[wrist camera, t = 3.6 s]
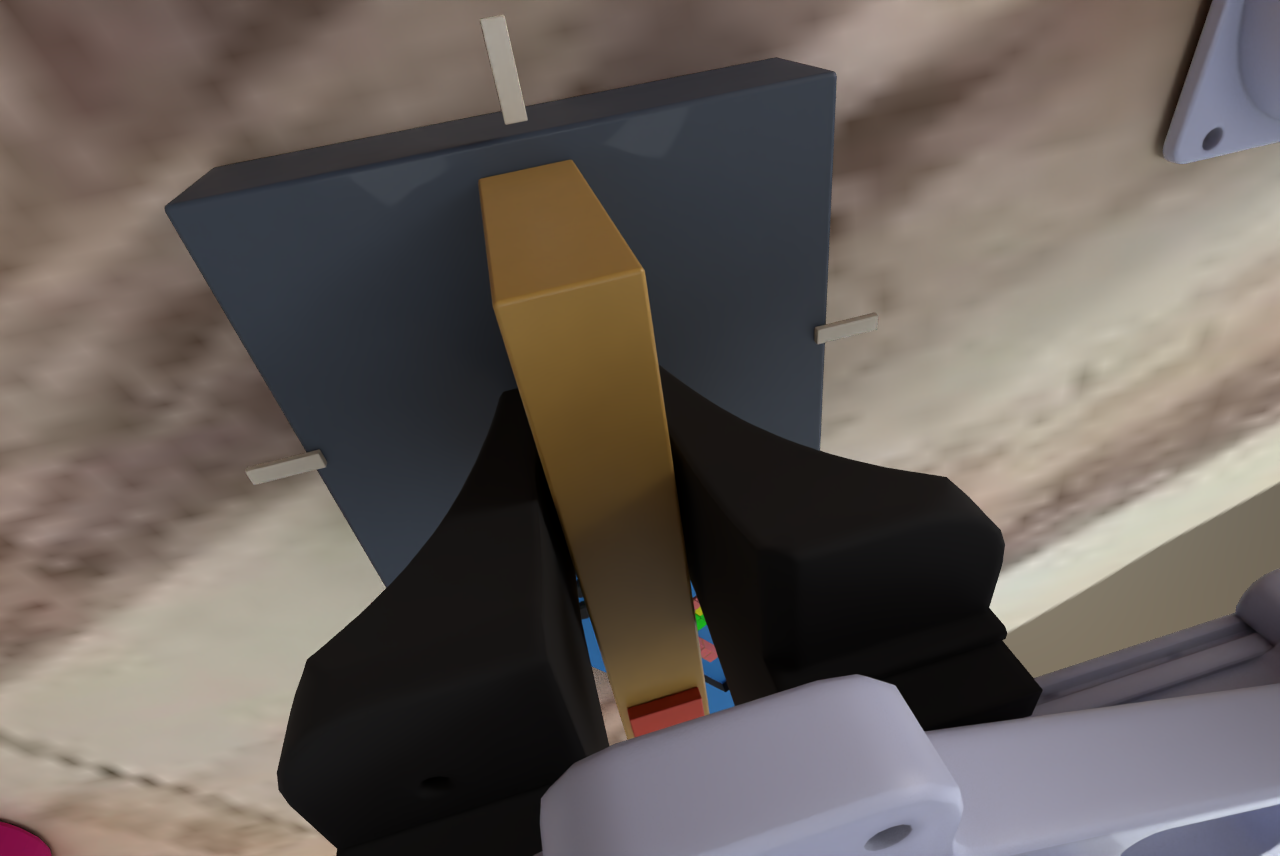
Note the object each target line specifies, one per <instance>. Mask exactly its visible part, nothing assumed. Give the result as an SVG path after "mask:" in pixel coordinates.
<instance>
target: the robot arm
mask: <svg viewBox="0 0 1280 856" xmlns="http://www.w3.org/2000/svg"><path fill="white" fill-rule="evenodd" d="M1277 142H1280V0H1212V3H1211V6H1210V9H1209V12H1208V15H1207V18H1206V21H1205V24H1204V27H1203V30H1202V33H1201V36H1200V39H1199V42H1198V45H1197V48H1196V51H1195V54H1194V56H1193V59H1192V62H1191V65H1190V68H1189V71H1188V74H1187V77H1186V80H1185V83H1184V86H1183V89H1182V92H1181V95H1180V98H1179V101H1178V104H1177V107H1176V109H1175V112H1174V115H1173V118H1172V121H1171V124H1170V127H1169V130H1168V133H1167V136H1166V139H1165V142H1164V146H1163V155H1164V158H1165V159H1166V160H1167V161H1170V162H1174V163H1178V164H1187V163H1191V162H1195V161H1200V160H1204V159H1208V158H1213V157H1217V156H1221V155H1225V154H1230V153H1234V152H1238V151H1243V150H1247V149H1251V148H1256V147H1260V146H1264V145H1268V144H1273V143H1277ZM659 371H660V378H661V385H662V391H663V398H664V405H665V412H666V419H667V426H668V432H669V439H670V446H671V453H672V460H673V466H674V473H675V480H676V487H677V494H678V500H679V507H680V514H681V521H682V528H683V535H684V541H685V548H686V555H687V562H688V569H689V575H690V581H691V583H692V585H693V588H694V590H695V593H696V596H697V599H698V601H699V604H700V607H701V610H702V613H703V615H704V618H705V621H706V624H707V627H708V629H709V632H710V635H711V638H712V641H713V644H714V647H715V650H716V652H717V655H718V658H719V661H720V664H721V667H722V670H723V673H724V676H725V678H726V681H727V684H728V687H729V690H730V693H731V696H732V699H733V702H734V705H735V706H734V707H731V708H728V709H724V710H721V711H718V712H715V713H712V714H709V715H705V716H702V717H699V718H696V719H693V720H689V721H686V722H683V723H680V724H677V725H673V726H670V727H667V728H664V729H661V730H658V731H654V732H651V733H648V734H645V735H642V736H638V737H635V738H632V739H629V740H626V741H622V742H619V743H616V744H614V745H611V746H609V743H608V738H607V734H606V729H605V725H604V721H603V716H602V712H601V707H600V703H599V698H598V694H597V689H596V684H595V680H594V675H593V671H592V666H591V662H590V657H589V652H588V648H587V643H586V639H585V634H584V629H583V625H582V619H581V612H580V606H579V599H578V590H577V581H576V572H575V569H574V566H573V563H572V560H571V556H570V553H569V550H568V547H567V544H566V540H565V537H564V534H563V531H562V528H561V524H560V521H559V518H558V515H557V511H556V508H555V505H554V502H553V499H552V495H551V492H550V489H549V486H548V483H547V479H546V476H545V473H544V470H543V467H542V463H541V460H540V457H539V454H538V450H537V447H536V444H535V441H534V438H533V434H532V431H531V428H530V425H529V422H528V418H527V415H526V412H525V409H524V406H523V402H522V399H521V396H520V393H519V390H518V388H516V389H512V390H508V391H504V392H503V393H502V395H501V396H500V398H499V401H498V405H497V408H496V411H495V414H494V417H493V420H492V423H491V426H490V428H489V431H488V434H487V436H486V439H485V441H484V443H483V446H482V448H481V450H480V453H479V455H478V457H477V460H476V462H475V464H474V466H473V468H472V470H471V472H470V473H469V475H468V477H467V479H466V481H465V483H464V485H463V487H462V489H461V491H460V492H459V494H458V496H457V498H456V499H455V501H454V503H453V504H452V506H451V508H450V509H449V511H448V512H447V514H446V515H445V517H444V518H443V520H442V521H441V523H440V524H439V526H438V527H437V529H436V530H435V532H434V533H433V534H432V536H431V537H430V538H429V539H428V541H427V542H426V543H425V544H424V546H423V547H422V548H421V549H420V551H419V552H418V553H417V554H416V556H415V557H414V558H413V559H412V560H411V562H410V563H409V564H408V565H407V567H406V568H405V569H404V570H403V571H402V572H401V573H400V574H399V575H398V576H397V577H396V579H395V580H394V581H393V582H392V583H391V584H390V585H389V586H388V587H387V588H386V589H385V590H384V591H383V592H382V593H381V594H380V595H379V596H378V597H377V598H376V599H375V600H374V601H373V602H372V603H371V604H370V605H369V606H368V607H367V608H366V609H365V610H364V611H363V612H362V613H361V614H360V615H359V616H357V617H356V618H355V619H354V620H353V621H352V622H351V623H349V624H348V625H347V626H346V627H345V628H344V629H343V630H341V631H340V632H339V633H338V634H337V635H336V636H334V637H333V638H332V639H331V640H330V641H329V642H328V643H326V644H325V645H324V646H323V647H322V648H321V649H320V650H318V651H317V652H316V653H315V654H313V655H312V656H311V657H310V658H308V659H307V661H306V664H305V668H304V671H303V674H302V677H301V679H300V682H299V685H298V688H297V690H296V694H295V697H294V701H293V704H292V708H291V712H290V716H289V721H288V725H287V730H286V734H285V739H284V743H283V748H282V752H281V757H280V761H279V766H278V770H277V778H278V788H279V791H280V792H281V794H282V795H283V797H284V798H285V799H286V801H287V802H288V804H289V805H290V806H291V807H292V808H293V809H294V810H296V811H297V812H298V813H299V814H300V815H301V816H302V817H303V818H304V819H305V820H306V821H308V822H309V823H310V824H311V825H312V826H313V827H314V828H315V829H316V830H317V831H318V832H320V833H321V834H322V835H323V836H324V837H325V838H326V839H327V840H328V841H329V842H330V843H332V844H333V845H334V846H335V847H336V848H337V855H336V856H1280V568H1279V569H1276V570H1273V571H1271V572H1269V573H1267V574H1265V575H1263V576H1262V577H1260V578H1259V579H1258V580H1256V581H1255V582H1253V583H1252V585H1251V586H1250V587H1249V588H1248V589H1247V590H1246V591H1245V593H1244V594H1243V595H1242V597H1241V599H1240V600H1239V602H1238V604H1237V606H1236V612H1235V613H1232V614H1229V615H1226V616H1223V617H1220V618H1217V619H1214V620H1211V621H1208V622H1205V623H1202V624H1199V625H1196V626H1193V627H1190V628H1186V629H1183V630H1180V631H1177V632H1174V633H1171V634H1168V635H1165V636H1162V637H1159V638H1156V639H1153V640H1150V641H1146V642H1143V643H1140V644H1137V645H1134V646H1131V647H1128V648H1125V649H1122V650H1119V651H1116V652H1113V653H1110V654H1107V655H1103V656H1100V657H1097V658H1094V659H1091V660H1088V661H1085V662H1082V663H1079V664H1076V665H1073V666H1070V667H1067V668H1064V669H1060V670H1058V671H1054V672H1051V673H1048V674H1045V675H1042V676H1039V677H1036V678H1033V677H1032V676H1031V675H1030V674H1029V672H1028V671H1027V670H1026V669H1025V667H1024V666H1023V665H1022V664H1021V663H1020V661H1019V660H1018V659H1017V658H1016V657H1015V655H1014V654H1013V653H1012V652H1011V651H1010V649H1009V648H1008V647H1007V646H1006V645H1005V643H1004V642H1003V641H1002V640H1003V639H1005V638H1006V636H1007V631H1006V628H1005V626H1004V625H1003V624H1002V622H1001V621H1000V620H999V619H998V618H997V617H996V615H995V614H994V613H993V612H992V611H991V609H990V608H989V606H990V603H991V599H992V596H993V593H994V590H995V586H996V583H997V580H998V577H999V573H1000V570H1001V567H1002V562H1003V555H1004V548H1005V543H1004V540H1003V536H1002V533H1001V530H1000V529H999V528H998V527H997V526H996V525H995V524H994V523H993V522H992V521H991V520H990V519H989V518H988V517H987V516H986V515H985V513H984V512H983V511H982V510H981V509H980V508H979V507H978V506H977V505H976V504H975V503H974V502H973V501H972V500H971V499H970V497H968V496H967V495H966V494H965V493H964V492H963V491H962V490H961V489H959V488H958V487H957V486H956V485H955V484H954V483H953V482H951V481H950V480H949V479H948V478H947V477H942V476H936V475H929V474H923V473H917V472H910V471H904V470H898V469H891V468H886V467H881V466H876V465H872V464H868V463H863V462H859V461H855V460H851V459H847V458H843V457H839V456H836V455H832V454H829V453H825V452H822V451H819V450H816V449H813V448H810V447H807V446H804V445H801V444H798V443H795V442H793V441H790V440H787V439H785V438H782V437H780V436H777V435H775V434H773V433H771V432H768V431H766V430H764V429H761V428H759V427H757V426H755V425H753V424H750V423H748V422H746V421H744V420H742V419H740V418H739V417H737V416H735V415H733V414H731V413H730V412H728V411H726V410H724V409H722V408H721V407H719V406H718V405H716V404H714V403H713V402H711V401H710V400H708V399H707V398H705V397H704V396H702V395H701V394H699V393H698V392H696V391H695V390H693V389H692V388H690V387H689V386H687V385H686V384H685V383H683V382H682V381H680V380H679V379H678V378H676V377H675V376H674V375H672V374H671V373H670V372H668V371H667V370H666V369H664V368H663V367H662V366H661V365H659Z"/></svg>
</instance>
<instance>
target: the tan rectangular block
mask: <svg viewBox="0 0 1280 856" xmlns="http://www.w3.org/2000/svg"><path fill="white" fill-rule="evenodd" d="M478 187H479V195H480V204H481V212H482V220H483V229H484V237H485V246H486V254H487V263H488V271H489V280H490V288H491V297H492V305H493V309H494V313H495V316H496V319H497V322H498V325H499V329H500V332H501V335H502V338H503V341H504V345H505V348H506V351H507V354H508V357H509V361H510V364H511V367H512V370H513V373H514V377H515V380H516V383H517V386H518V390H519V393H520V396H521V399H522V402H523V406H524V409H525V412H526V415H527V418H528V422H529V425H530V428H531V431H532V434H533V438H534V441H535V444H536V447H537V450H538V454H539V457H540V460H541V463H542V467H543V470H544V473H545V476H546V479H547V483H548V486H549V489H550V492H551V495H552V499H553V502H554V505H555V508H556V511H557V515H558V518H559V521H560V524H561V528H562V531H563V534H564V537H565V540H566V544H567V547H568V550H569V553H570V556H571V560H572V563H573V566H574V569H575V572H576V576H577V579H578V582H579V585H580V588H581V592H582V595H583V598H584V601H585V605H586V608H587V611H588V614H589V617H590V621H591V624H592V627H593V630H594V633H595V637H596V640H597V643H598V646H599V649H600V653H601V656H602V659H603V662H604V666H605V669H606V672H607V675H608V678H609V682H610V685H611V688H612V691H613V694H614V698H615V701H616V704H617V707H618V710H619V714H620V717H621V720H622V723H623V726H624V730H625V733H626V736H627V739H628V740H629V739H632V738H635V737H638V736H642V735H645V734H648V733H651V732H654V731H658V730H661V729H664V728H667V727H670V726H673V725H677V724H680V723H683V722H686V721H689V720H693V719H696V718H699V717H702V716H705V715H709V714H710V712H709V705H708V698H707V691H706V684H705V678H704V671H703V664H702V657H701V650H700V644H699V637H698V630H697V623H696V616H695V609H694V603H693V596H692V589H691V582H690V575H689V569H688V562H687V555H686V548H685V541H684V535H683V528H682V521H681V514H680V507H679V500H678V494H677V487H676V480H675V473H674V466H673V460H672V453H671V446H670V439H669V432H668V426H667V419H666V412H665V405H664V398H663V391H662V385H661V378H660V371H659V364H658V357H657V351H656V344H655V337H654V330H653V323H652V316H651V310H650V303H649V296H648V289H647V282H646V276H645V270H644V269H643V267H642V266H641V264H640V263H639V261H638V260H637V258H636V257H635V255H634V254H633V252H632V250H631V249H630V247H629V246H628V244H627V243H626V241H625V240H624V238H623V237H622V235H621V234H620V232H619V231H618V229H617V227H616V226H615V224H614V223H613V221H612V220H611V218H610V217H609V215H608V214H607V212H606V211H605V209H604V208H603V206H602V205H601V203H600V201H599V200H598V198H597V197H596V195H595V194H594V192H593V191H592V189H591V188H590V186H589V185H588V183H587V182H586V180H585V179H584V177H583V175H582V174H581V172H580V171H579V169H578V168H577V166H576V165H575V163H574V162H573V160H566V161H561V162H556V163H552V164H547V165H542V166H538V167H533V168H528V169H524V170H519V171H514V172H510V173H505V174H500V175H495V176H491V177H486V178H481V179H480V180H478Z"/></svg>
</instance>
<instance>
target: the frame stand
mask: <svg viewBox="0 0 1280 856" xmlns="http://www.w3.org/2000/svg"><path fill="white" fill-rule="evenodd" d="M480 24H481V28H482V32H483V37H484V41H485V45H486V49H487V53H488V57H489V61H490V65H491V69H492V73H493V77H494V82H495V86H496V90H497V94H498V98H499V102H500V106H501V110H502V111H501V112H496V113H491V114H485V115H480V116H475V117H470V118H465V119H460V120H455V121H450V122H445V123H440V124H434V125H429V126H424V127H419V128H414V129H409V130H404V131H399V132H394V133H389V134H383V135H378V136H373V137H368V138H363V139H358V140H353V141H348V142H343V143H337V144H332V145H327V146H322V147H317V148H312V149H307V150H302V151H297V152H292V153H286V154H281V155H276V156H271V157H266V158H261V159H256V160H251V161H246V162H241V163H235V164H230V165H225V166H220V167H215V168H213V169H212V170H210V171H209V172H208V173H207V174H205V175H204V176H203V177H201V178H200V179H199V180H198V181H196V182H195V183H194V184H193V185H191V186H190V187H189V188H187V189H186V190H185V191H184V192H182V193H181V194H180V195H179V196H177V197H176V198H175V199H173V200H172V201H171V202H170V203H168V204H167V205H166V206H165V212H166V214H167V216H168V217H169V219H170V221H171V222H172V224H173V226H174V227H175V229H176V231H177V233H178V234H179V236H180V238H181V239H182V241H183V243H184V244H185V246H186V248H187V250H188V251H189V253H190V255H191V256H192V258H193V260H194V262H195V263H196V265H197V267H198V268H199V270H200V272H201V273H202V275H203V277H204V279H205V280H206V282H207V284H208V285H209V287H210V289H211V290H212V292H213V294H214V296H215V297H216V299H217V301H218V302H219V304H220V306H221V307H222V309H223V311H224V313H225V314H226V316H227V318H228V319H229V321H230V323H231V324H232V326H233V328H234V330H235V331H236V333H237V335H238V336H239V338H240V340H241V341H242V343H243V345H244V347H245V348H246V350H247V352H248V353H249V355H250V357H251V359H252V360H253V362H254V364H255V365H256V367H257V369H258V370H259V372H260V374H261V376H262V377H263V379H264V381H265V382H266V384H267V386H268V387H269V389H270V391H271V393H272V394H273V396H274V398H275V399H276V401H277V403H278V404H279V406H280V408H281V410H282V411H283V413H284V415H285V416H286V418H287V420H288V421H289V423H290V425H291V427H292V428H293V430H294V432H295V433H296V435H297V437H298V438H299V440H300V442H301V444H302V445H303V447H304V449H305V450H306V453H302V454H298V455H294V456H290V457H286V458H282V459H278V460H274V461H270V462H266V463H262V464H258V465H254V466H249V467H247V468H246V470H245V473H246V474H247V476H248V477H249V479H250V480H251V482H252V483H253V485H257V484H261V483H265V482H269V481H273V480H277V479H281V478H285V477H289V476H293V475H297V474H301V473H305V472H309V471H313V470H317V471H318V473H319V474H320V476H321V478H322V479H323V481H324V483H325V484H326V486H327V488H328V490H329V491H330V493H331V495H332V496H333V498H334V500H335V501H336V503H337V505H338V507H339V508H340V510H341V512H342V513H343V515H344V517H345V518H346V520H347V522H348V524H349V525H350V527H351V529H352V530H353V532H354V534H355V535H356V537H357V539H358V541H359V542H360V544H361V546H362V547H363V549H364V551H365V552H366V554H367V556H368V558H369V559H370V561H371V563H372V564H373V566H374V568H375V570H376V571H377V573H378V575H379V576H380V578H381V580H382V581H383V583H384V585H385V587H386V588H387V587H388V586H389V585H390V584H391V583H392V582H393V581H394V580H395V579H396V577H397V576H398V575H399V574H400V573H401V572H402V571H403V570H404V569H405V568H406V567H407V565H408V564H409V563H410V562H411V560H412V559H413V558H414V557H415V556H416V554H417V553H418V552H419V551H420V549H421V548H422V547H423V546H424V544H425V543H426V542H427V541H428V539H429V538H430V537H431V536H432V534H433V533H434V532H435V530H436V529H437V527H438V526H439V524H440V523H441V521H442V520H443V518H444V517H445V515H446V514H447V512H448V511H449V509H450V508H451V506H452V504H453V503H454V501H455V499H456V498H457V496H458V494H459V492H460V491H461V489H462V487H463V485H464V483H465V481H466V479H467V477H468V475H469V473H470V472H471V470H472V468H473V466H474V464H475V462H476V460H477V457H478V455H479V453H480V450H481V448H482V446H483V443H484V441H485V439H486V436H487V434H488V431H489V428H490V426H491V423H492V420H493V417H494V414H495V411H496V408H497V405H498V401H499V398H500V396H501V395H502V393H503V392H504V391H508V390H512V389H516V388H518V386H517V383H516V380H515V377H514V373H513V370H512V367H511V364H510V361H509V357H508V354H507V351H506V348H505V345H504V341H503V338H502V335H501V332H500V329H499V325H498V322H497V319H496V316H495V313H494V309H493V305H492V297H491V288H490V280H489V271H488V263H487V254H486V246H485V237H484V229H483V220H482V212H481V204H480V195H479V187H478V180H480V179H481V178H486V177H491V176H495V175H500V174H505V173H510V172H514V171H519V170H524V169H528V168H533V167H538V166H542V165H547V164H552V163H556V162H561V161H566V160H573V162H574V163H575V165H576V166H577V168H578V169H579V171H580V172H581V174H582V175H583V177H584V179H585V180H586V182H587V183H588V185H589V186H590V188H591V189H592V191H593V192H594V194H595V195H596V197H597V198H598V200H599V201H600V203H601V205H602V206H603V208H604V209H605V211H606V212H607V214H608V215H609V217H610V218H611V220H612V221H613V223H614V224H615V226H616V227H617V229H618V231H619V232H620V234H621V235H622V237H623V238H624V240H625V241H626V243H627V244H628V246H629V247H630V249H631V250H632V252H633V254H634V255H635V257H636V258H637V260H638V261H639V263H640V264H641V266H642V267H643V269H644V270H645V276H646V282H647V289H648V296H649V303H650V310H651V316H652V323H653V330H654V337H655V344H656V351H657V357H658V364H659V365H661V366H662V367H663V368H664V369H666V370H667V371H668V372H670V373H671V374H672V375H674V376H675V377H676V378H678V379H679V380H680V381H682V382H683V383H685V384H686V385H687V386H689V387H690V388H692V389H693V390H695V391H696V392H698V393H699V394H701V395H702V396H704V397H705V398H707V399H708V400H710V401H711V402H713V403H714V404H716V405H718V406H719V407H721V408H722V409H724V410H726V411H728V412H730V413H731V414H733V415H735V416H737V417H739V418H740V419H742V420H744V421H746V422H748V423H750V424H753V425H755V426H757V427H759V428H761V429H764V430H766V431H768V432H771V433H773V434H775V435H777V436H780V437H782V438H785V439H787V440H790V441H793V442H795V443H798V444H801V445H804V446H807V447H810V448H813V449H816V450H819V451H820V439H821V417H822V394H823V372H824V350H825V343H826V342H830V341H834V340H838V339H842V338H846V337H850V336H854V335H858V334H862V333H866V332H870V331H874V330H877V324H878V315H877V314H876V313H870V314H866V315H862V316H858V317H854V318H850V319H846V320H842V321H838V322H834V323H830V324H826V305H827V282H828V260H829V238H830V215H831V193H832V170H833V148H834V126H835V103H836V81H837V76H836V73H835V72H834V71H830V70H826V69H822V68H818V67H814V66H810V65H805V64H801V63H797V62H793V61H789V60H785V59H781V58H777V57H776V58H771V59H766V60H761V61H756V62H751V63H746V64H741V65H735V66H730V67H725V68H720V69H715V70H710V71H705V72H700V73H695V74H689V75H684V76H679V77H674V78H669V79H664V80H659V81H654V82H649V83H644V84H638V85H633V86H628V87H623V88H618V89H613V90H608V91H603V92H598V93H593V94H587V95H582V96H577V97H572V98H567V99H562V100H557V101H552V102H547V103H542V104H536V105H531V106H526V107H525V105H524V100H523V96H522V91H521V87H520V83H519V78H518V74H517V69H516V65H515V60H514V56H513V51H512V47H511V42H510V38H509V33H508V29H507V24H506V20H505V16H504V15H498V16H492V17H487V18H481V19H480Z"/></svg>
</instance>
